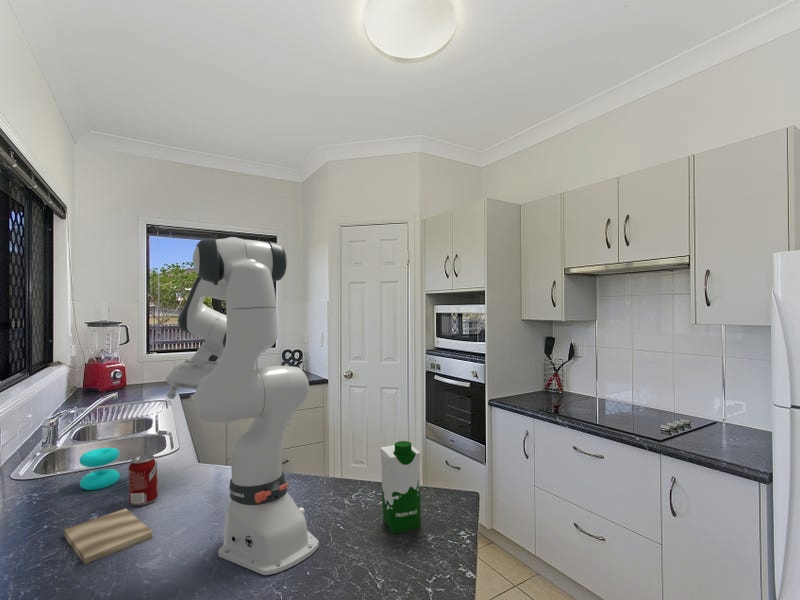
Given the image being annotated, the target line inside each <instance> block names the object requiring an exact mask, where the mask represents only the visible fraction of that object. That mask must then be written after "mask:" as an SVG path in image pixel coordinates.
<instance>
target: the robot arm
mask: <svg viewBox="0 0 800 600" xmlns="http://www.w3.org/2000/svg"><path fill="white" fill-rule="evenodd" d="M192 264H193V268H194V270H195V272H196V275H197V278H196V279H195V280H194V282H193V283H192V284H193V285H192V286H191V288H190V291H189V294H188V295H187V299H186V300H185V303H184V306H183V309H182V310H181V311H180V314H179V315H178V318H177V323H178V326H179V328H180V331H182V332H184V333H187V334H190V335H193V336H195V337H198V338H200V339H203V340H204V343H203V344H201V345H200V346H199V347H198V349H197V350H196V352H195V353H194V354H193V356H192V357H191V359H190V360H189V359H188V360H184V361H183V362H179V363H178V364H177V365H176V366H174V368H173V369H172V370H171V371H170V372H169V374H168V375H167V376H166V378H165V381H166V383H167V384H168V385H169V387H170V388H169V391H168V393H167V394H166V397H167V398H168V399H169V400H174V399H175V398H176V396H177V394H176V392H177V391H178V390H179V389H181V388H182V389H190V390H191V389H192V390H195V392H194V393H191V394H190V396H189V398H188V400H189V401H190V402H192V403H194V408H195V410H196V413H197V414H198V416H199V417H200V418H201V419H202V420H203V421H204V422H206V423H233V422H236V421H237V422H238V421H242V420H247V419H248V420H249V419H253V418H254V419H253V421H252V423H251V425H250V427H248V429H247V430H246V431H244V433H242V434H240V436H238V437H237V438H236V440H235V441H234V443H233V444H232V447H231V449H230V456H231V457H230V459H231V462H230V464H231V465H230V467H231V469H230V470H231V478H230V479H229V487H228V490H229V498H230V503H229V506H228V509H227V511H226V512H225V515H224V527H223V528H224V530H223V544H222V545H221V546H220V548H219V549H218V553H217V554H218V557H219V558H220V559H223V560H225V561H229V562H231V563H234V564H236V565H239V566H241V567H243V568H246V569H248V570H250V571H252V572H256V573H258V574H260V575H262V576H269V575H273V574H277V573H280V572H283V571H285V570H288V569H291V568H292V567H294V566H296V565H298V564H299V563H301V562H303V561H304V560H306V559H307V558H308V557H310V556H311V555H312V554H314V553H315V552H316V551H317V549H318V548H319V546H320V542H319V539H317V538H316V537H315V535H314V534H312V533H311V532H310V531H309V530H308V527H307V526H308V525H307V520H306V511H305V509H304V507H302V506H301V507H298V506H297V504H296V503H295V501H294V498H293V497H291V495H290V494H289V492H288V489H289V488H290V486H288V485H290V483H289V482H287V479H286V477H285V473H284V471H283V443H284V437H285V434H286V429H287V428H288V425H289V424H290V421H291V419H292V417H293V416H294V414H295V413H296V412H297V410H298V409H299V408H300V407H301V406H302V405H303V404H305V402H306V400H307V398H308V396H309V391H310V384H309V379H308V377H307V375H306V373H305V372H304V370H302V369H301V368H300V367H298V366H291V365H274V366H265V367H257V368H256V364H257V360H258V359H259V357H260V356H261V354H263V353H265V352H266V351H268V350H270V349H272V347H273V346H274V345H275V343H276V342H277V339H278V337H279V336H278V335H279V334H278V333H279V332H278V316H277V314H278V313H277V299H276V291H275V286H274V282H278V281H280V280H282V278H284V276H285V274H286V271H287V267H288V258H287V254H286V251H285V248H284V247H283V246H282V245H281V244H280V243H277V242H273V241H268V240H267V241H263V240H262V241H260V240H254V239H252V240H251V239H244V238H239V237H235V236H229V237H226V238H218V239H216V238H215V237H211V238H205V239H200V240H199V242H197V243H196V246H195V249H194V251H193V254H192ZM206 298H212V299H216V300H220V301H225V309H226V310H225V313H226V314H224V313H221V312H220V311H217V310H215V309H213V308H211V307H209V306H207V305H206V304H205V303H204V301H206Z"/></svg>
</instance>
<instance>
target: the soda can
mask: <svg viewBox="0 0 800 600" xmlns="http://www.w3.org/2000/svg"><path fill="white" fill-rule="evenodd" d="M130 462H131V463H130V464H129V466H128V469H127V470H128V500H129V501H128V502H129V505H132V506H135V507H142V506H146V505H149V504H151V503H153V502H154V501H156V500H157V499H158V497H159V494H158V493H159V491H158V461H157V460H156V459H155V455H153V454H152V455H151V454H145V455H139V456H136V457H134V458H132V459H131V460H130Z"/></svg>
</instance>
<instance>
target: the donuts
mask: <svg viewBox="0 0 800 600" xmlns="http://www.w3.org/2000/svg"><path fill="white" fill-rule="evenodd" d="M119 456H120V450H119V449H117V448H116V447H102V448H101V447H100V448H97V449H92V450H89V451H87V452H85V453H82V455H81V456H80V457H79V464H80V465H82V466H83V467H86V468H96V467H98V468H99V467H102V466H106V465H109V464H111V463H113V462H115V461H116V460H117V459H118V457H119ZM120 477H121V475H120V472H119V471H118V470H116V469H113V468H104V469H98V470H95V471H91V472H90V473H88V474H86V475H84V476H83V477H82V478H81V480H80V482H79V487H80V488H81V489H83V490H86V491H95V490H100V489H104V488H107V487H110V486H113V485H114V484H117V482H118V481H119V480H120Z"/></svg>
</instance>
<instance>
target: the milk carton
mask: <svg viewBox="0 0 800 600" xmlns="http://www.w3.org/2000/svg"><path fill="white" fill-rule="evenodd" d="M379 448H380V461H381V497H382V499H381V501H382V516H383V518H382V519H383V521H384V523H385V525H386V526H387V527H388V529H389V530H390V531H391V533H392V534H393V535H395V534H400V533H404V532H409V531H413V530H416V529H417V530H418V529H421V527H422V522H421V520H422V519H421V516H422V515H421V514H422V513H421V511H422V509H421V508H422V507H421V506H422V505H421V473H420V472H421V471H420V469H421V468H420V467H421V466H420V465H421V452H420V451H419V450H418V449H417V448H415V447H414V445H412V442H410V441H408V440H407V441H406V440H400V441H399V440H398V441H396V442H394V444H392V445H388V446H382V447H379Z"/></svg>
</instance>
